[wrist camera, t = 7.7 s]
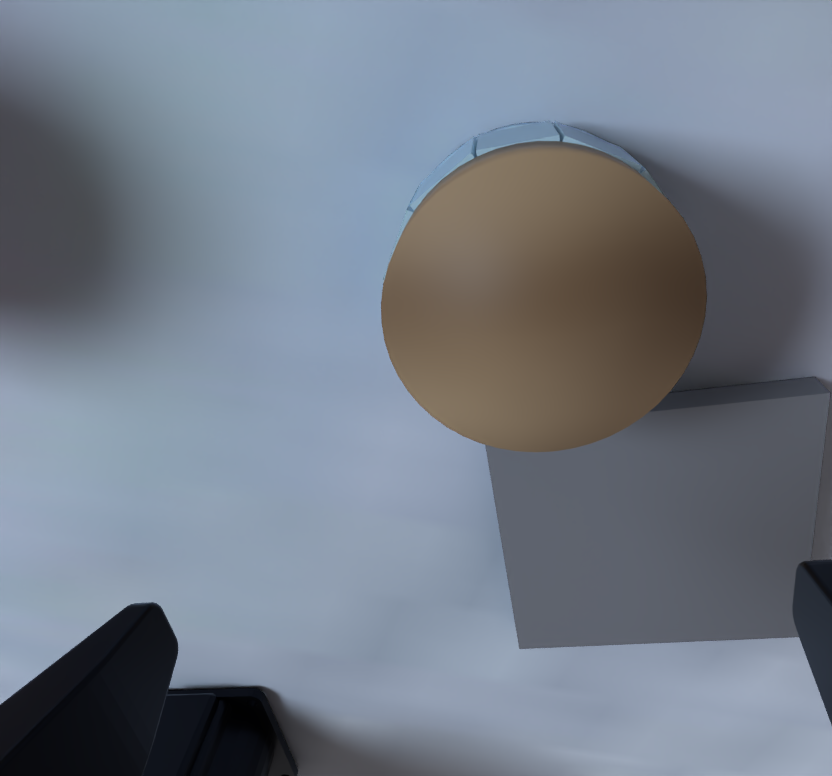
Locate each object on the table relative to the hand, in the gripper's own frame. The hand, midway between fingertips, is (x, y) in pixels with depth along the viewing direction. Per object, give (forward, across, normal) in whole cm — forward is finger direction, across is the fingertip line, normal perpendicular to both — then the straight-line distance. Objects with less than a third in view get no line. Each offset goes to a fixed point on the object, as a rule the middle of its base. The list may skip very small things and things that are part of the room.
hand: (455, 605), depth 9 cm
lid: (+8, -2, -1) cm, 9 cm away
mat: (+12, -5, +9) cm, 16 cm away
